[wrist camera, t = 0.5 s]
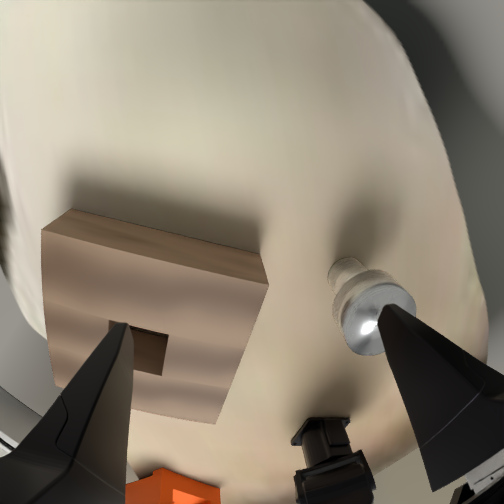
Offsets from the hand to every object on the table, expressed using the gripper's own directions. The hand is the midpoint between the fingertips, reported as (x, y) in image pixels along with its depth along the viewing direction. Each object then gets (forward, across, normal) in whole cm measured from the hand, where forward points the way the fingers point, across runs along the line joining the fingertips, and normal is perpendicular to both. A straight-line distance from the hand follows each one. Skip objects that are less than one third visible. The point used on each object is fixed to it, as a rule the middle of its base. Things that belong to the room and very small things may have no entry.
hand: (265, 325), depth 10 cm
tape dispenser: (+7, +13, +53) cm, 55 cm away
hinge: (+12, +31, +31) cm, 45 cm away
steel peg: (+12, -10, +8) cm, 18 cm away
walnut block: (+13, +7, +12) cm, 19 cm away
